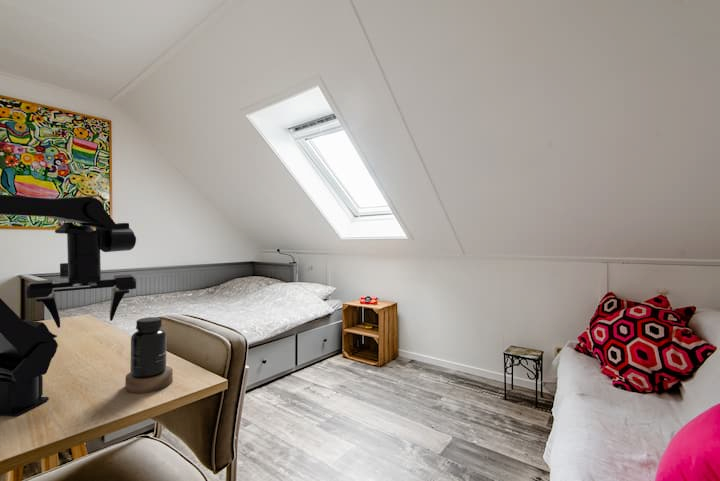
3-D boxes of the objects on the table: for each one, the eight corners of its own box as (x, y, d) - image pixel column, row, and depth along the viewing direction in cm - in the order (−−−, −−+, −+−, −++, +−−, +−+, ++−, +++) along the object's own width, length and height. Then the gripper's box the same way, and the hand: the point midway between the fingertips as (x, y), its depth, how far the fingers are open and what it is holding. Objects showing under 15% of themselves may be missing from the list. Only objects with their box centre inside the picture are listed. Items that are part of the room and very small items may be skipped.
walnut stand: (156, 394, 75) (156, 382, 75) (115, 392, 76) (115, 380, 75) (180, 376, 84) (180, 366, 84) (143, 375, 84) (143, 364, 84)
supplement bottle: (168, 375, 79) (168, 320, 78) (131, 382, 75) (131, 324, 75) (164, 365, 84) (164, 314, 84) (129, 371, 81) (129, 318, 80)
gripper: (129, 249, 91) (130, 310, 92) (29, 252, 80) (32, 322, 80) (135, 253, 83) (136, 320, 84) (25, 257, 71) (27, 335, 72)
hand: (85, 323), depth 80 cm, fingers open, 9 cm apart
